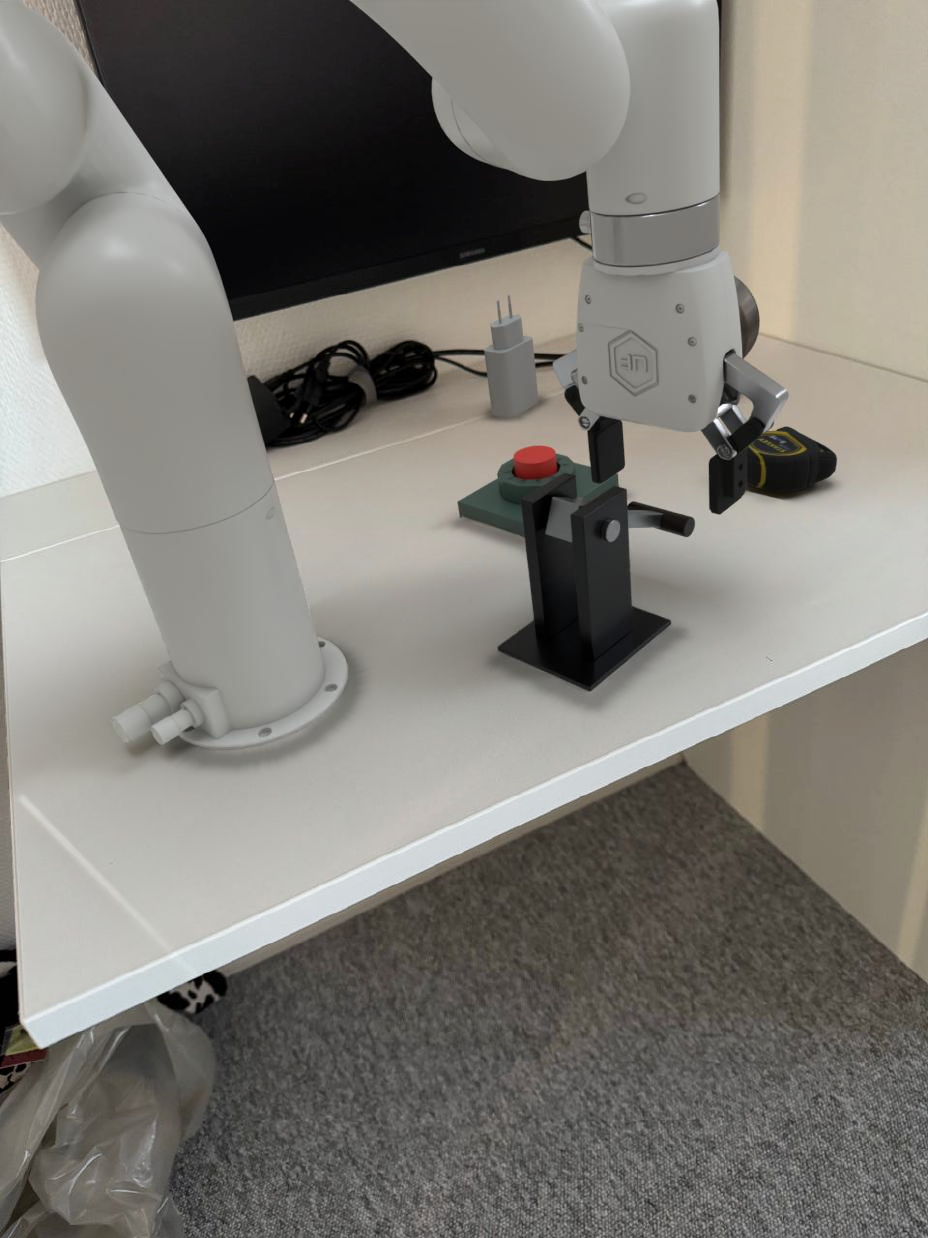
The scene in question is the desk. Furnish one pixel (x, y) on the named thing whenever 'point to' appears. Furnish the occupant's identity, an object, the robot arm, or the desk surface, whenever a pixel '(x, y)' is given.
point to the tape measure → (788, 461)
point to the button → (535, 462)
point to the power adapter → (510, 367)
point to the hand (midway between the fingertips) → (665, 489)
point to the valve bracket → (580, 589)
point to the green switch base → (523, 494)
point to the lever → (637, 518)
